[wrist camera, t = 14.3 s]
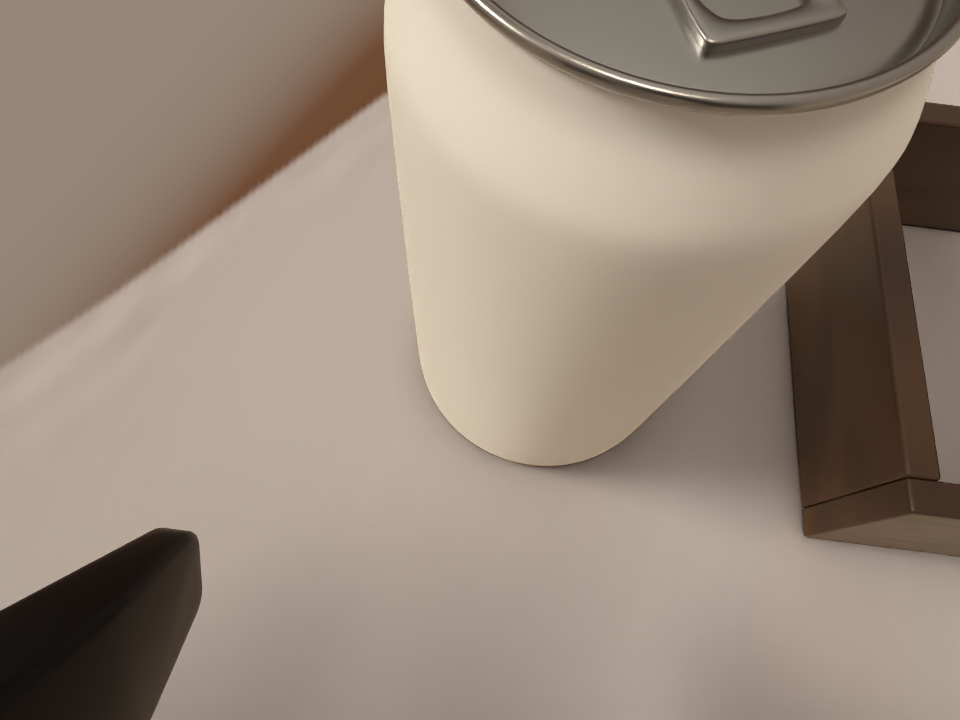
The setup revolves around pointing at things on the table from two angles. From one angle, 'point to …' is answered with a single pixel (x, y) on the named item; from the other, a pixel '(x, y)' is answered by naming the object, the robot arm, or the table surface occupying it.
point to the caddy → (875, 362)
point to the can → (627, 187)
